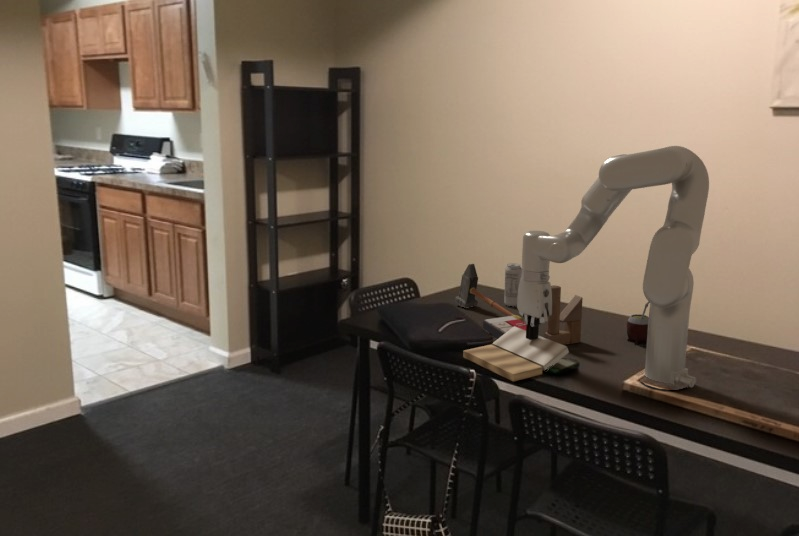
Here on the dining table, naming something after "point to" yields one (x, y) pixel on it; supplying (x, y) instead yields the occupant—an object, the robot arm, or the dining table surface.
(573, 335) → the wooden block
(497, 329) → the calculator
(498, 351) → the oak board
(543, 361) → the ash plank
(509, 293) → the energy drink can
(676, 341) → the robot arm
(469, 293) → the hammer
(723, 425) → the dining table surface
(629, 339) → the mate gourd
